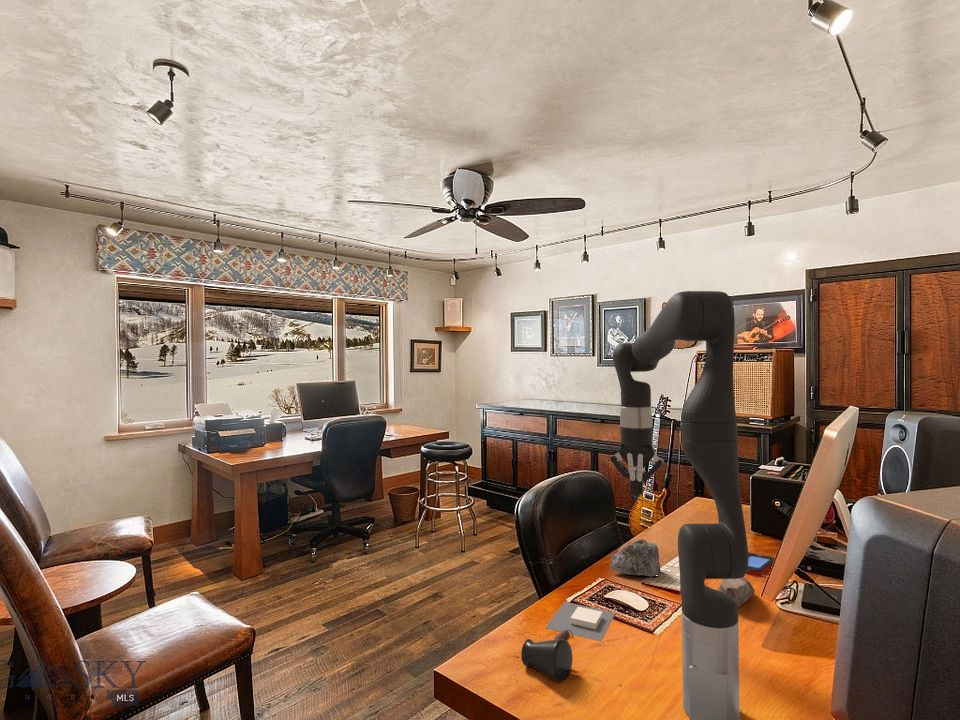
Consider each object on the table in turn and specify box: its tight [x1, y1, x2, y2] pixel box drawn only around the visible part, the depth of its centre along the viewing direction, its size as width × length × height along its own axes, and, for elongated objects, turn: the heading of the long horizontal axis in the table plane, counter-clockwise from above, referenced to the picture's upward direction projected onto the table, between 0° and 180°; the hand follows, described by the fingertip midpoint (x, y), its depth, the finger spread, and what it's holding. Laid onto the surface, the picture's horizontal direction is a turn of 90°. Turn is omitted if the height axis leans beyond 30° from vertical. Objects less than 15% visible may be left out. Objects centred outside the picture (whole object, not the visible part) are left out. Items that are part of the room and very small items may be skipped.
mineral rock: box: [609, 538, 662, 577], centre depth 151 cm, size 13×11×10 cm
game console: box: [745, 551, 776, 577], centre depth 156 cm, size 14×13×2 cm
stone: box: [717, 576, 756, 608], centre depth 133 cm, size 15×9×10 cm
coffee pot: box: [520, 629, 574, 683], centre depth 109 cm, size 8×18×8 cm
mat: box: [545, 601, 616, 642], centre depth 124 cm, size 14×13×1 cm
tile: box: [570, 607, 603, 629], centre depth 123 cm, size 6×2×6 cm
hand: (637, 495), depth 127 cm, fingers closed
